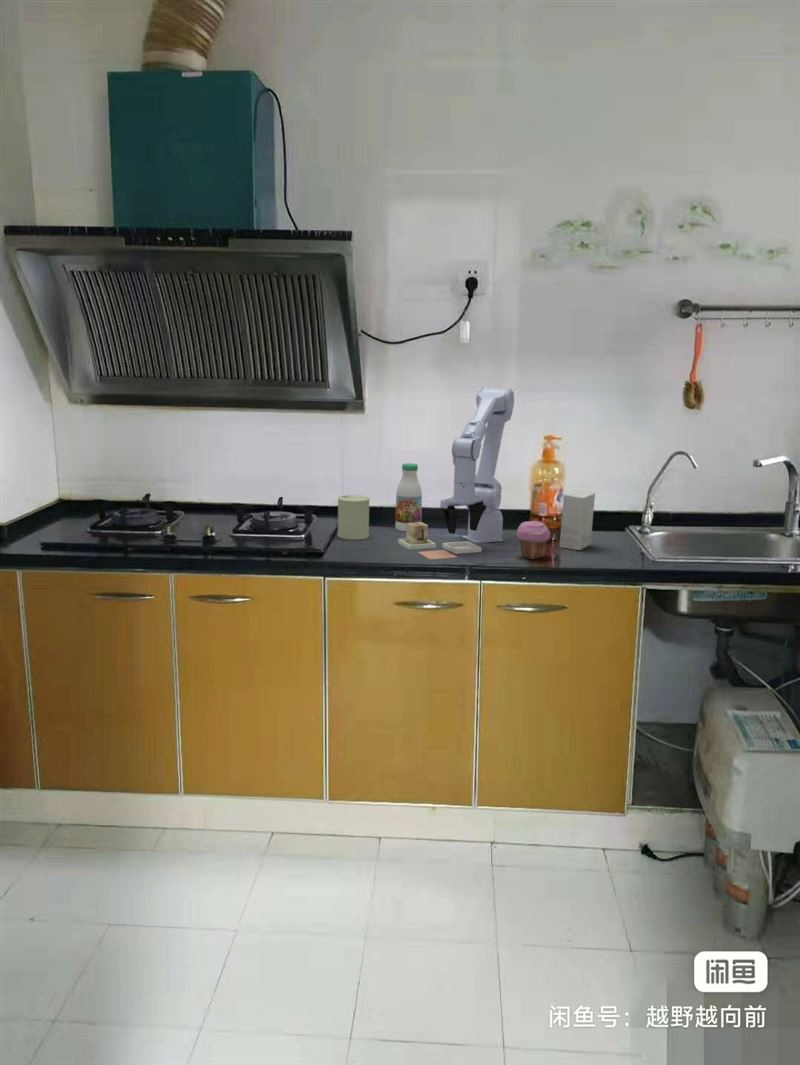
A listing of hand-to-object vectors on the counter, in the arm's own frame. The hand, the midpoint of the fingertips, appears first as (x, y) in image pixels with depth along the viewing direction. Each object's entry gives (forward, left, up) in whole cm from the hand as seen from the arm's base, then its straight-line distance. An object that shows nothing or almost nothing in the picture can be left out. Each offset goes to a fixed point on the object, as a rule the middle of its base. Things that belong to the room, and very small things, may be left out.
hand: (462, 531), depth 236 cm
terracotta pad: (+9, +4, -5) cm, 11 cm away
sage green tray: (+10, -8, -5) cm, 14 cm away
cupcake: (-15, +12, -6) cm, 20 cm away
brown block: (+10, -8, -5) cm, 14 cm away
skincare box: (-33, +6, -6) cm, 34 cm away
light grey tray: (0, 0, -5) cm, 5 cm away
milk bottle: (+4, -28, -6) cm, 29 cm away
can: (+23, -24, -6) cm, 34 cm away
